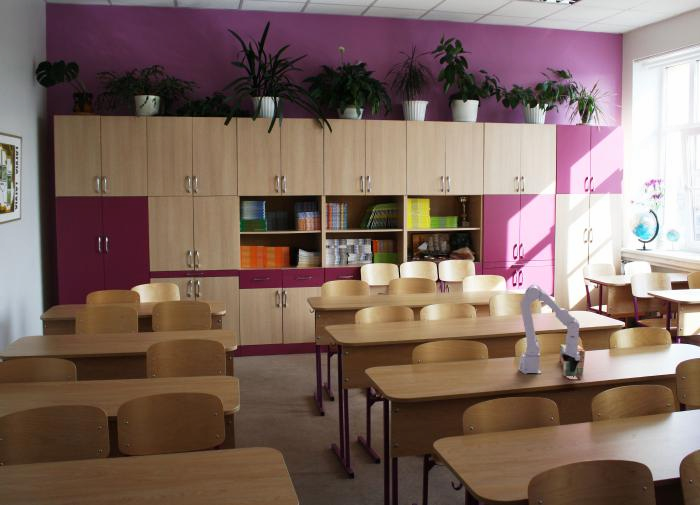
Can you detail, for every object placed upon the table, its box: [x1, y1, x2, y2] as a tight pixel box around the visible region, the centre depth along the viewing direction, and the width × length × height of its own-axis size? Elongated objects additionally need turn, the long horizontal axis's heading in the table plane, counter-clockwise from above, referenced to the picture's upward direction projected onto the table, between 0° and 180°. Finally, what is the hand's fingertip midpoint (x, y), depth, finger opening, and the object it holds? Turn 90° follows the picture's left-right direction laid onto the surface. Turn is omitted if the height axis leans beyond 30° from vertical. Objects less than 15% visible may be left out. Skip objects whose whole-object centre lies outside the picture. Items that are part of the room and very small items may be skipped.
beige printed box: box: [559, 344, 586, 374], centre depth 367 cm, size 21×6×12 cm, turn 0°
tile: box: [562, 361, 577, 377], centre depth 352 cm, size 6×2×7 cm, turn 100°
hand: (569, 370), depth 352 cm, fingers open, 5 cm apart
